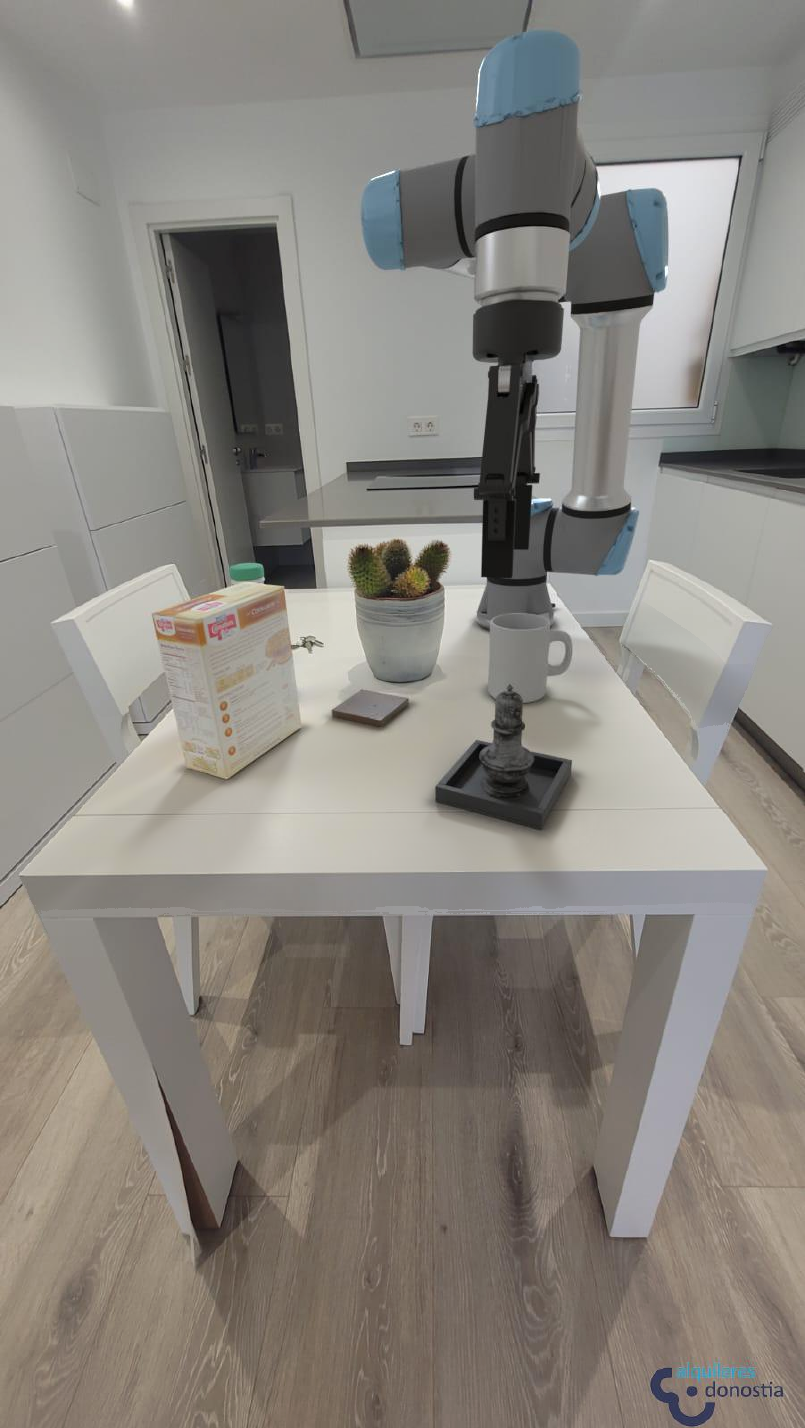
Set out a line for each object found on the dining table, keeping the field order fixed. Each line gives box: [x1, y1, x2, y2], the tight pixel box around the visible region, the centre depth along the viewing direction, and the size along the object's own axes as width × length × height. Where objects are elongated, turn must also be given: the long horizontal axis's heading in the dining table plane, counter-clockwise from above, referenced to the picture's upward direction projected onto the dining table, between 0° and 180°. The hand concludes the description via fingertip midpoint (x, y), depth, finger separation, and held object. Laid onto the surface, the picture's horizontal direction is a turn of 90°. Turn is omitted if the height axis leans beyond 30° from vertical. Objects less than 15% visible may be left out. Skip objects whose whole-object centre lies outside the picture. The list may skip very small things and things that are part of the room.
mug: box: [487, 613, 573, 704], centre depth 87 cm, size 12×8×11 cm
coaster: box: [331, 688, 410, 728], centre depth 85 cm, size 8×8×1 cm
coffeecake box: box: [150, 582, 303, 780], centre depth 72 cm, size 15×7×20 cm, turn 152°
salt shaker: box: [479, 684, 534, 798], centre depth 63 cm, size 6×6×12 cm
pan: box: [434, 739, 573, 831], centre depth 65 cm, size 12×12×2 cm
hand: (507, 561), depth 59 cm, fingers open, 13 cm apart
